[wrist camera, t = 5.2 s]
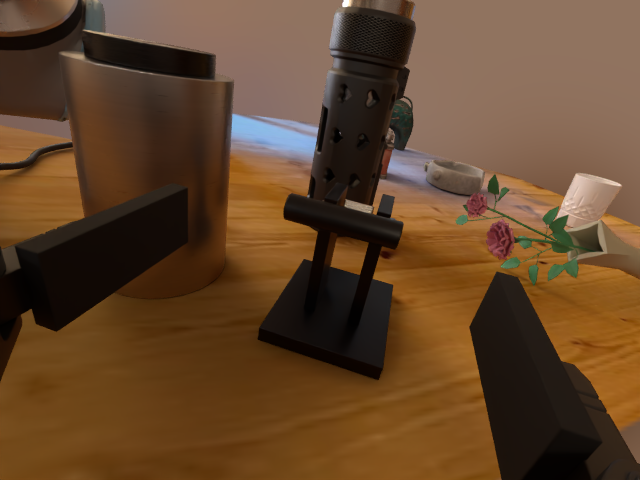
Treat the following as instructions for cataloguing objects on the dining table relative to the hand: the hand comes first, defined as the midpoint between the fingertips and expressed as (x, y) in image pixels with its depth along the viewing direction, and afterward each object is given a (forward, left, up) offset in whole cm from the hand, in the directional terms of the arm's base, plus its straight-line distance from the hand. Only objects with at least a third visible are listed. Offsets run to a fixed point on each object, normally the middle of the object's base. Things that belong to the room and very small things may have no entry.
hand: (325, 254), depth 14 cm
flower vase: (-23, +38, -14) cm, 47 cm away
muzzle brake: (-33, +7, -14) cm, 37 cm away
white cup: (-48, +61, -14) cm, 79 cm away
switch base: (-12, +4, -13) cm, 19 cm away
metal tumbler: (-18, -13, -13) cm, 26 cm away
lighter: (-65, +22, -14) cm, 70 cm away
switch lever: (-8, +3, -3) cm, 9 cm away
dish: (-63, +40, -14) cm, 76 cm away
